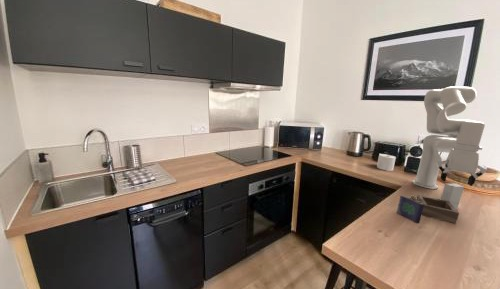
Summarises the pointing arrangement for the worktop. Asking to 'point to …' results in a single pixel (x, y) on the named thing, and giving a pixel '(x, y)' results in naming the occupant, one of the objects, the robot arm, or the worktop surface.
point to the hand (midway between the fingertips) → (456, 182)
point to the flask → (410, 208)
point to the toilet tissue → (386, 162)
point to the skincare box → (452, 194)
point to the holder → (438, 209)
